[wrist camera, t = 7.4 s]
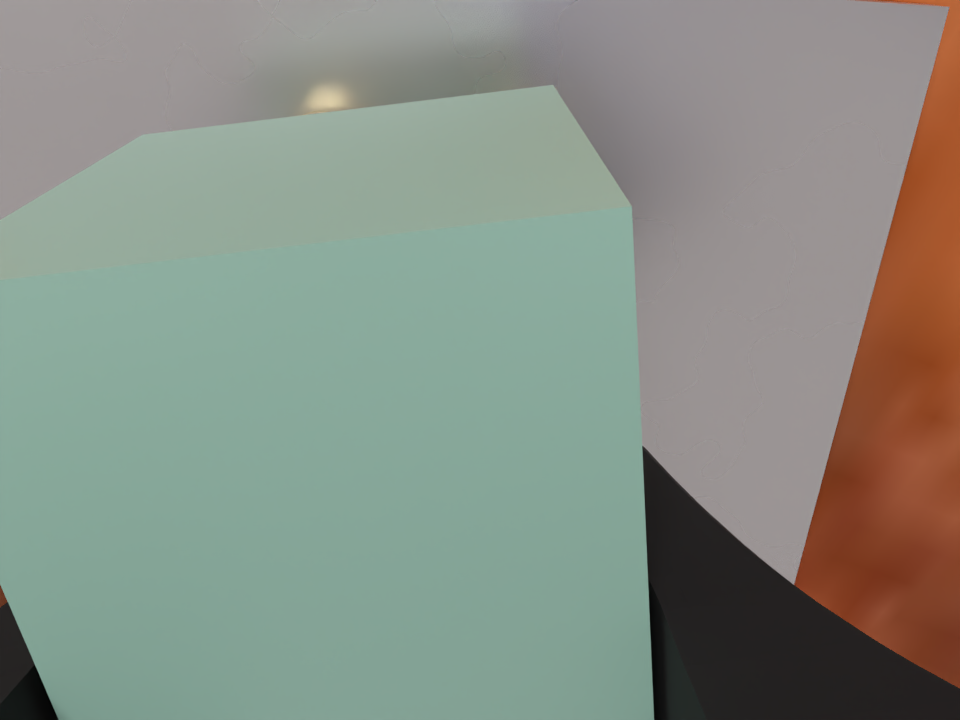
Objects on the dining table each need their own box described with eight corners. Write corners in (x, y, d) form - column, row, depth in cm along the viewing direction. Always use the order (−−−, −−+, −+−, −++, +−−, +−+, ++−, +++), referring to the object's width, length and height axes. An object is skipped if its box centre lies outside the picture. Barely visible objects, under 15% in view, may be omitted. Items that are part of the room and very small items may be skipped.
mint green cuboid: (552, 85, 10) (632, 206, 5) (599, 692, 14) (669, 1065, 9) (142, 134, 10) (-125, 294, 5) (302, 721, 14) (223, 1104, 9)
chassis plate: (928, 3, 13) (949, 7, 12) (760, 649, 18) (770, 670, 17) (-81, -67, 12) (-106, -67, 12) (46, 622, 17) (32, 645, 17)
